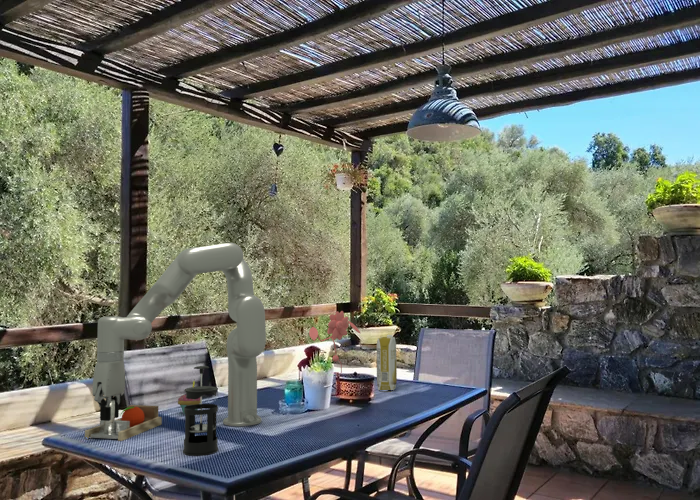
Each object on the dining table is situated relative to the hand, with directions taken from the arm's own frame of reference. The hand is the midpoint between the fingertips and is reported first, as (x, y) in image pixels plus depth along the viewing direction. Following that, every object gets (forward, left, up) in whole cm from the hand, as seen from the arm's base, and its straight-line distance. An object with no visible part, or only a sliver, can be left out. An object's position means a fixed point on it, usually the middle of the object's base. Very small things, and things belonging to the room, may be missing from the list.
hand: (109, 418), depth 179 cm
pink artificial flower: (+19, -98, -6) cm, 100 cm away
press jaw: (0, 0, -5) cm, 5 cm away
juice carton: (+14, -120, -6) cm, 121 cm away
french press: (-31, -16, -6) cm, 36 cm away
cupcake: (+20, -33, -6) cm, 39 cm away
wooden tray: (+5, -6, -6) cm, 10 cm away
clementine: (+8, -9, -6) cm, 13 cm away
